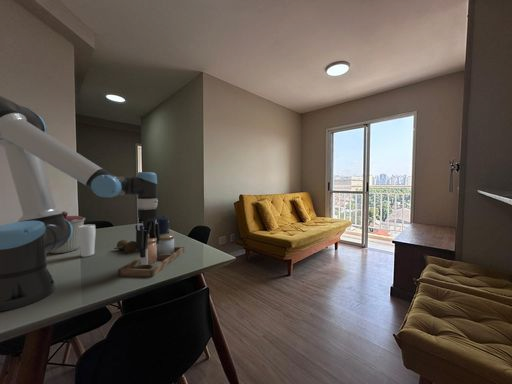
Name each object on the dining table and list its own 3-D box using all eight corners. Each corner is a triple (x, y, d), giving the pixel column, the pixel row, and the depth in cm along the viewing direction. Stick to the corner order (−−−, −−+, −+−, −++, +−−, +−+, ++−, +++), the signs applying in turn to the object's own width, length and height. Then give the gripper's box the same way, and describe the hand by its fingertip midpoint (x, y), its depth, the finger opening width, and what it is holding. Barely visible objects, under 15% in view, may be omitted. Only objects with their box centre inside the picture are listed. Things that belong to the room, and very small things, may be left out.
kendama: (155, 246, 119) (119, 256, 101) (145, 244, 123) (108, 253, 106) (155, 236, 119) (118, 244, 101) (145, 234, 123) (108, 241, 106)
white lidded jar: (169, 258, 98) (169, 238, 97) (152, 258, 98) (152, 237, 98) (177, 252, 106) (177, 233, 106) (162, 252, 107) (161, 233, 106)
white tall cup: (99, 253, 105) (98, 224, 105) (87, 258, 98) (86, 227, 98) (87, 252, 106) (86, 224, 105) (74, 257, 99) (73, 227, 98)
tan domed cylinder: (151, 265, 85) (151, 241, 84) (137, 264, 85) (136, 241, 85) (160, 259, 91) (159, 237, 91) (146, 259, 92) (145, 237, 91)
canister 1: (76, 243, 122) (75, 208, 121) (93, 248, 114) (92, 210, 113) (33, 253, 105) (31, 212, 104) (49, 258, 97) (47, 215, 96)
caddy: (152, 276, 79) (152, 270, 79) (118, 275, 80) (118, 269, 80) (184, 251, 108) (184, 247, 108) (158, 251, 109) (158, 246, 109)
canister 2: (152, 245, 119) (152, 214, 118) (170, 243, 122) (169, 213, 121) (149, 250, 110) (148, 217, 109) (168, 248, 113) (168, 216, 112)
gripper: (142, 211, 78) (143, 271, 79) (167, 205, 96) (168, 254, 97) (123, 211, 78) (125, 270, 79) (152, 205, 97) (153, 253, 98)
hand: (149, 261), depth 88 cm, fingers closed on tan domed cylinder, 6 cm apart
